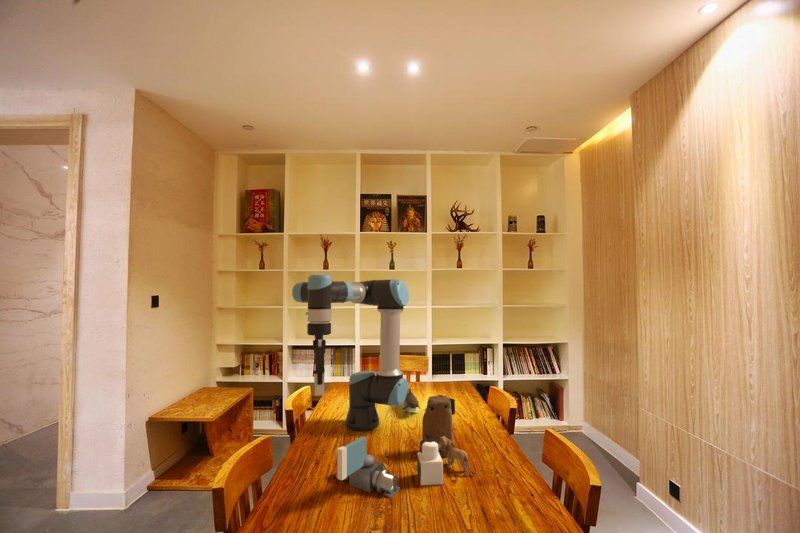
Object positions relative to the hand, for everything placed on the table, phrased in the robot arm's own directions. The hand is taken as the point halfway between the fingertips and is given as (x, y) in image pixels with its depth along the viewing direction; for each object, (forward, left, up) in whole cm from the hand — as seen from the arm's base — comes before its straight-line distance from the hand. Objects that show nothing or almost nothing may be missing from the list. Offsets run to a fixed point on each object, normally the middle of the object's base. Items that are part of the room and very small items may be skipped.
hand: (318, 389), depth 117 cm
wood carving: (-64, +44, -29) cm, 82 cm away
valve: (+4, +15, -29) cm, 33 cm away
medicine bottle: (+6, +35, -29) cm, 46 cm away
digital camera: (-53, +60, -29) cm, 86 cm away
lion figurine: (+1, +45, -29) cm, 54 cm away
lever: (+8, +11, -22) cm, 26 cm away
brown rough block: (-11, +43, -29) cm, 53 cm away
